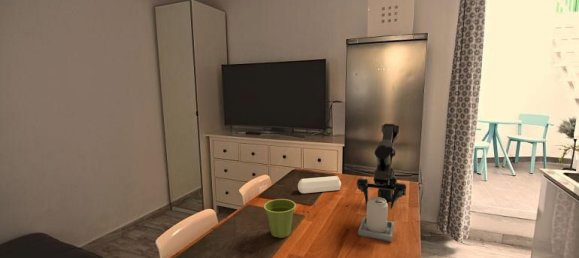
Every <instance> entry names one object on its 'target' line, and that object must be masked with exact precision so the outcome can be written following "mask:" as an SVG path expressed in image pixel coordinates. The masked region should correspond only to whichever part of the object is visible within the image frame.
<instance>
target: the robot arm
mask: <svg viewBox="0 0 579 258" xmlns="http://www.w3.org/2000/svg"><path fill="white" fill-rule="evenodd" d="M380 131H381V134H382V139H381V141H379V142H378V144H377V146H376V147H375V150H374V156H375V163H376V166H375V167H376V168H375V170H374V171H373V182H369V180H368V178H361V177H359V178H357V181H356V187H357V190H360V192H363V194H364V200H365V205H366V206H367V202H368V201H369V188H372V189H377V195H376V197H381V198H384V199H385V200H386V203H387V202H389V203H390V202H391V203H390V210H392V209H393V208H394V206H395V204H396V202H397V201H398V200H399V198H402V197H403V196H404V197H405V196H407V185H406V183H404V182H403V183H402V182H398V179H397V178H396V177H397V176H395V171H394V169H393V168H392V167H393V158H394V157H396V154H397V151H396V149H395V148H394V146H395V145H394V144H395V142H396V141H397V140H398V136H399V135H400V131H401V130H400V126H399V125H396V123H386V122H385V123H383V124H382V125H381V129H380Z"/></svg>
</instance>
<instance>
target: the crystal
mask: <svg viewBox="0 0 579 258" xmlns="http://www.w3.org/2000/svg"><path fill="white" fill-rule="evenodd" d="M341 185H342V182H341V180H340V177H338V175H332V176H323V177H322V176H321V177H320V176H319V177H310V178H309V177H308V178H301V179H300V180H299V181H298V184H297V188H298V192H300V193H301V194H310V193H311V194H312V193H320V192H330V191H340V189H341Z"/></svg>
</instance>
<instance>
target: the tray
mask: <svg viewBox="0 0 579 258" xmlns="http://www.w3.org/2000/svg"><path fill="white" fill-rule="evenodd" d="M366 221H367V216H363V217H362V220H361V223H360V224H359V226H358V227H359V228H358V232H357V236H359V237H363V238H368V239H373V240H378V241H383V242H387V243H393V242H392V241H393V236H394V235H393V234H394V228H395V222H394V221H390V220H387V230H386V231H385V232H384V233H377V232H372V231H369V229H368V228H367V227H366Z"/></svg>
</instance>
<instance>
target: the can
mask: <svg viewBox="0 0 579 258" xmlns="http://www.w3.org/2000/svg"><path fill="white" fill-rule="evenodd" d="M388 212H389V205H388V203H387V202H386V200H385V199H384V198H381V197H377V196H373V197H368V202H367V205H366V217H367V221H366V227H367V228H368V229H369V231H372V232H377V233H384V232H385V231H386V230H387V221H388V216H389V213H388Z"/></svg>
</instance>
